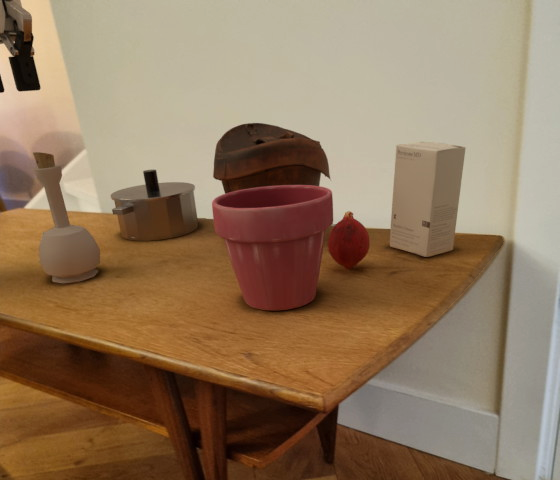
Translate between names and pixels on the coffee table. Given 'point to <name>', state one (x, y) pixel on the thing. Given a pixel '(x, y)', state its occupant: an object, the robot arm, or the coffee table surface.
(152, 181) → the pan lid
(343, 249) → the onion
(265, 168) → the chocolate muffin
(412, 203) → the cosmetic box
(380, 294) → the coffee table surface
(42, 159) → the potion bottle
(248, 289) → the flower pot
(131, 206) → the pan
